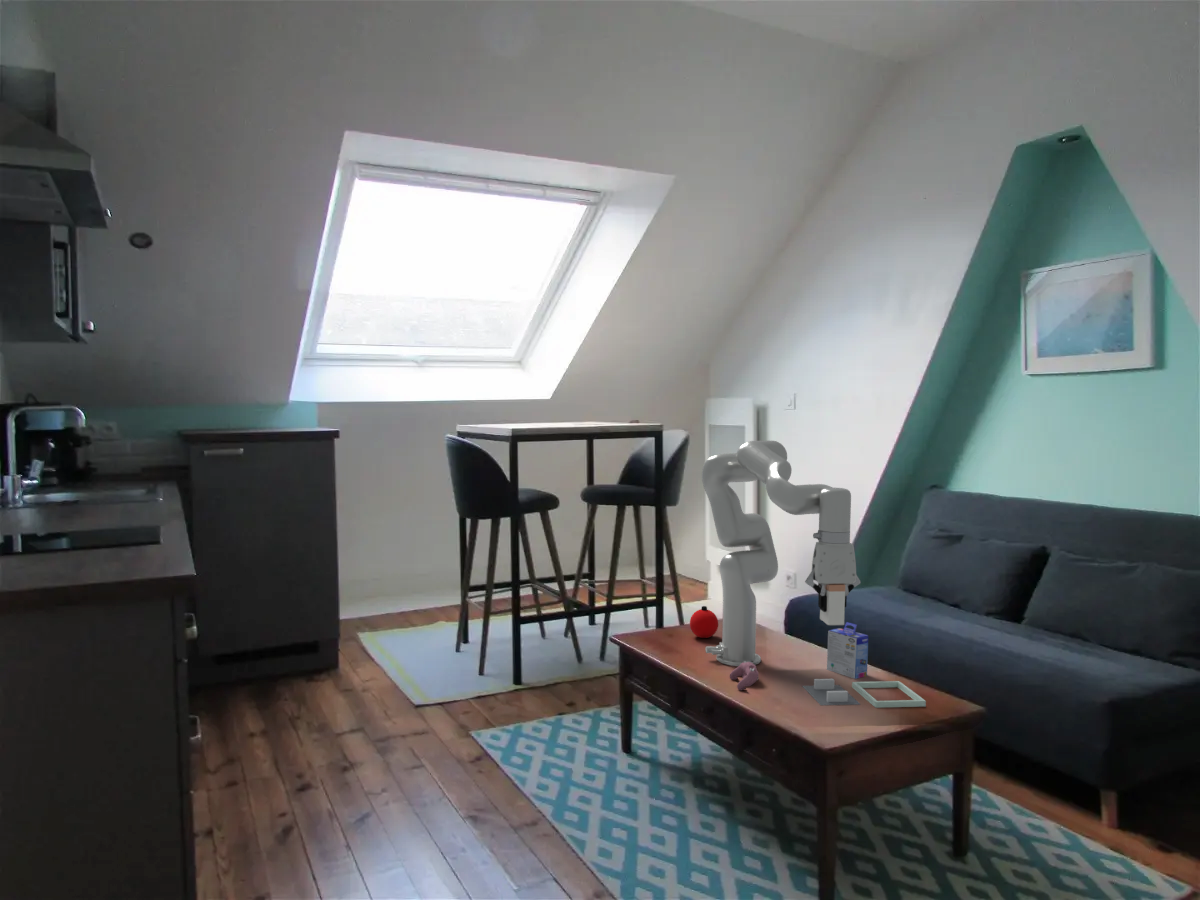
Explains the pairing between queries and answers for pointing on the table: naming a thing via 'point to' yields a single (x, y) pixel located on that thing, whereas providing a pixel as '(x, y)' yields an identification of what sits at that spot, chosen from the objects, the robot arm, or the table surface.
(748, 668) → the video game controller
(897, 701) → the tray
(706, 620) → the ornament
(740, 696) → the table surface
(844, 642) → the ink cartridge box
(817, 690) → the block
